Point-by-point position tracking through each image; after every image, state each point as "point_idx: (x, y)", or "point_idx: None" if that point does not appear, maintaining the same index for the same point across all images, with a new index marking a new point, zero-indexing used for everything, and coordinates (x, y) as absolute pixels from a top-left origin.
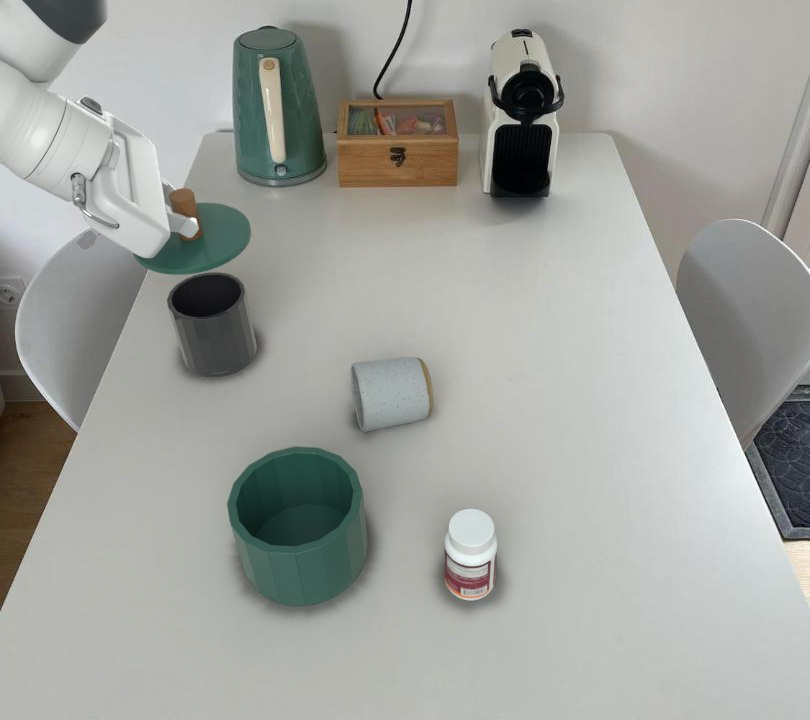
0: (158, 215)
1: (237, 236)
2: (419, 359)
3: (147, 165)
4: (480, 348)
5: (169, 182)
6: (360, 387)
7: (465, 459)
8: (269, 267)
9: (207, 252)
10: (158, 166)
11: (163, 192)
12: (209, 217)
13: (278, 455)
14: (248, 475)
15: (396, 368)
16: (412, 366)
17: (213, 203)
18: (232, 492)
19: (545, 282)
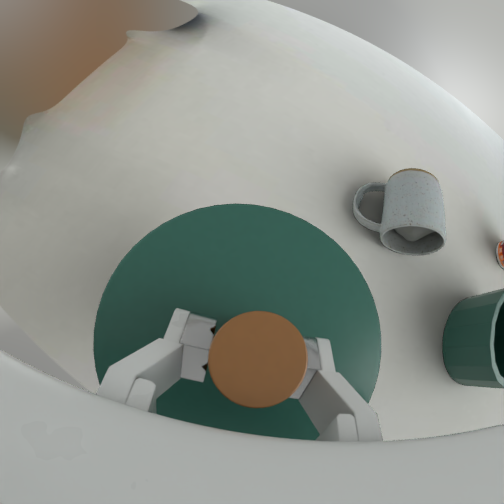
0: (490, 458)
1: (311, 253)
2: (419, 170)
3: (104, 466)
4: (349, 122)
5: (121, 362)
6: (443, 235)
7: (445, 203)
8: (106, 222)
9: (340, 337)
10: (66, 387)
11: (301, 440)
12: (192, 281)
13: (493, 338)
14: (497, 368)
15: (433, 194)
16: (432, 181)
17: (134, 248)
18: (501, 383)
19: (293, 52)
